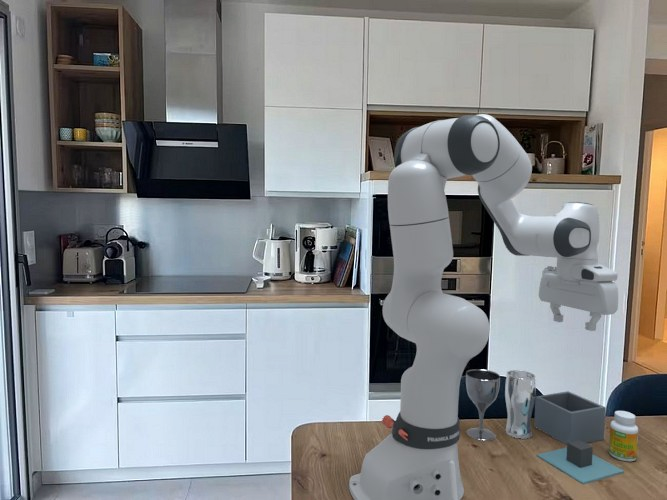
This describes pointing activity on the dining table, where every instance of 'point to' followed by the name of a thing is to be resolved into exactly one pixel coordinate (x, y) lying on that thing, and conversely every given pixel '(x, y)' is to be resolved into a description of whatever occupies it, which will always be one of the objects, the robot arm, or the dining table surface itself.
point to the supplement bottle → (623, 436)
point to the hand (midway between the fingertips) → (573, 325)
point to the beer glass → (519, 402)
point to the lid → (580, 462)
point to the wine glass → (482, 398)
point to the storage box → (569, 417)
